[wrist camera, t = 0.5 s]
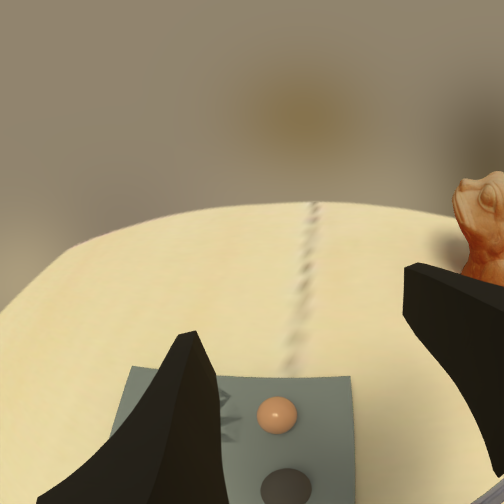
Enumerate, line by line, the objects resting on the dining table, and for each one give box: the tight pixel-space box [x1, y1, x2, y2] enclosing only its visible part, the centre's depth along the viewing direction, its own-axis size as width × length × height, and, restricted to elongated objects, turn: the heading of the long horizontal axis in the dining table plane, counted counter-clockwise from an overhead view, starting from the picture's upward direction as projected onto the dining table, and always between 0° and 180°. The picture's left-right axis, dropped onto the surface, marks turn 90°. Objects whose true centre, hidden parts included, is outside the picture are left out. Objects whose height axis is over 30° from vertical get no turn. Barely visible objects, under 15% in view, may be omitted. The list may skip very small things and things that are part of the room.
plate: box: [110, 366, 355, 504], centre depth 18 cm, size 18×20×2 cm
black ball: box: [260, 468, 312, 504], centre depth 15 cm, size 3×3×3 cm
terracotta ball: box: [257, 396, 297, 434], centre depth 20 cm, size 3×3×3 cm
